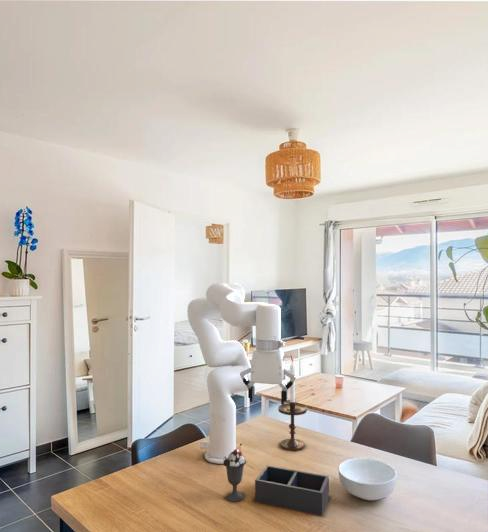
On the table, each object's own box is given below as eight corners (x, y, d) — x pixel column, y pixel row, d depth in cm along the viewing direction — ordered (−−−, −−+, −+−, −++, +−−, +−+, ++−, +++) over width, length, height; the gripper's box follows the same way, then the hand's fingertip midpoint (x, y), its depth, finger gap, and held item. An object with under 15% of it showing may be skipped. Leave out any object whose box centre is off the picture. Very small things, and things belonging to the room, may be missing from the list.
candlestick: (279, 452, 148) (279, 356, 149) (277, 440, 159) (277, 351, 160) (308, 452, 148) (308, 356, 149) (304, 440, 159) (304, 351, 160)
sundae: (250, 493, 119) (250, 442, 119) (239, 505, 113) (239, 451, 113) (230, 489, 122) (230, 438, 122) (219, 500, 116) (219, 447, 116)
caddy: (322, 515, 108) (322, 493, 108) (254, 501, 115) (254, 480, 115) (328, 496, 118) (328, 476, 118) (266, 484, 124) (266, 465, 125)
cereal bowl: (357, 474, 131) (357, 452, 132) (407, 493, 119) (406, 469, 120) (327, 493, 119) (327, 469, 120) (378, 517, 108) (378, 490, 108)
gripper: (298, 344, 123) (297, 400, 123) (243, 341, 127) (243, 396, 127) (294, 348, 116) (294, 408, 115) (237, 345, 120) (236, 403, 120)
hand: (267, 402), depth 121 cm, fingers open, 9 cm apart
